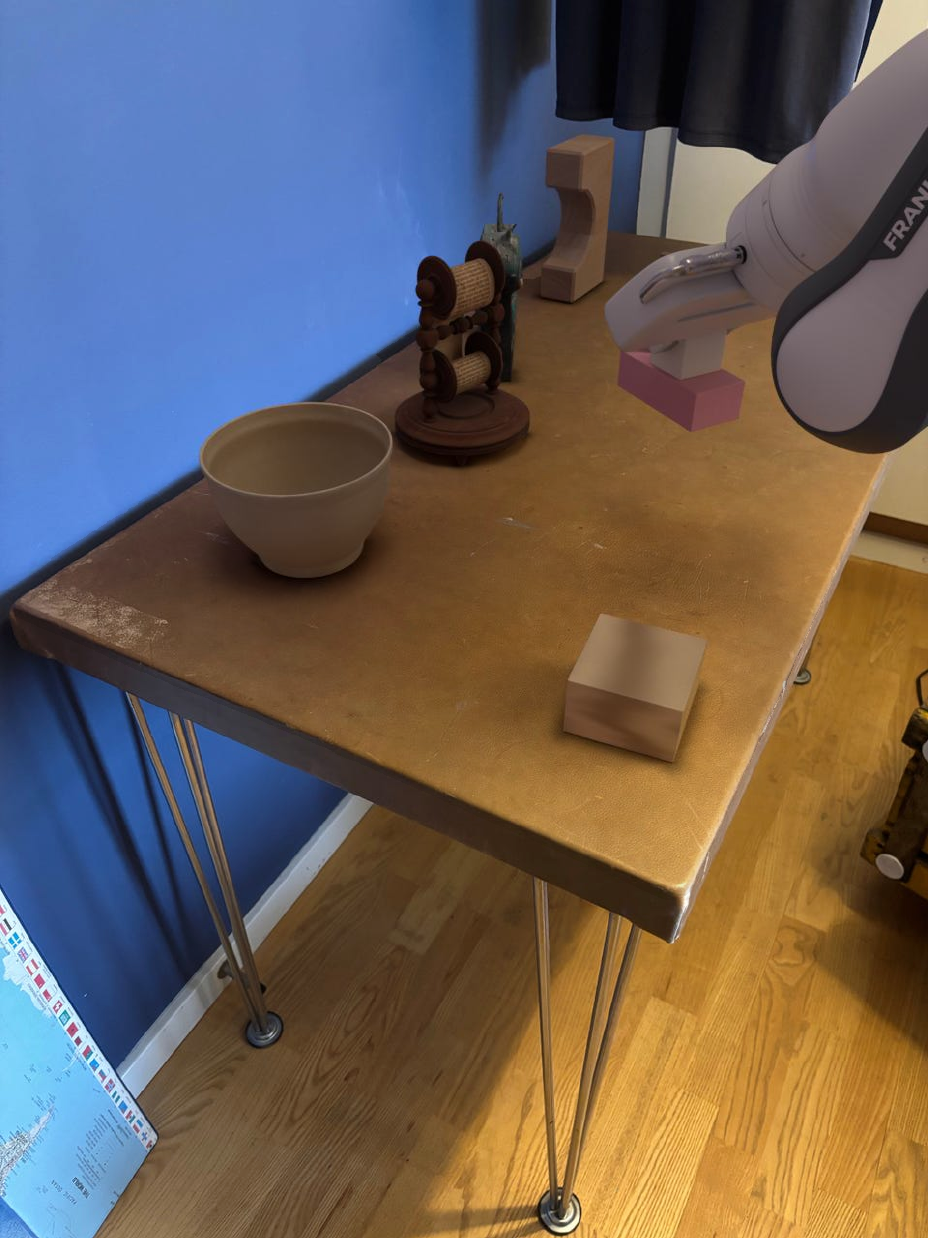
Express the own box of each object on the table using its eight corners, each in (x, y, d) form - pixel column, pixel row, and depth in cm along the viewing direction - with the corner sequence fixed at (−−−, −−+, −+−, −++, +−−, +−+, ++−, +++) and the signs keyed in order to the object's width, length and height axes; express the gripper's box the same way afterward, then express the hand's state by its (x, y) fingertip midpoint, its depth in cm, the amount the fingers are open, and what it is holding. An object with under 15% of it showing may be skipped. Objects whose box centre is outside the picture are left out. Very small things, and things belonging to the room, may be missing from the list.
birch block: (697, 689, 69) (707, 639, 66) (673, 763, 63) (683, 711, 60) (595, 662, 71) (600, 612, 68) (562, 731, 65) (567, 680, 62)
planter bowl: (187, 553, 83) (160, 446, 77) (324, 486, 92) (311, 386, 86) (295, 629, 75) (277, 516, 68) (435, 548, 84) (431, 441, 77)
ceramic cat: (520, 387, 110) (526, 212, 98) (467, 387, 111) (466, 212, 98) (516, 325, 126) (521, 168, 113) (469, 325, 126) (469, 168, 113)
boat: (739, 418, 73) (764, 278, 66) (690, 432, 71) (712, 290, 64) (649, 366, 81) (663, 236, 74) (604, 376, 79) (614, 245, 72)
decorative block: (572, 304, 132) (582, 152, 120) (537, 297, 134) (544, 148, 122) (604, 282, 139) (617, 137, 127) (571, 276, 142) (580, 132, 129)
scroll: (463, 394, 109) (461, 218, 97) (556, 434, 101) (567, 247, 88) (368, 435, 101) (353, 249, 89) (461, 483, 93) (458, 285, 80)
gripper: (685, 313, 55) (586, 402, 68) (926, 259, 62) (795, 349, 75) (649, 218, 56) (557, 324, 69) (893, 175, 63) (768, 279, 76)
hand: (683, 337), depth 72 cm, fingers closed on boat, 4 cm apart
